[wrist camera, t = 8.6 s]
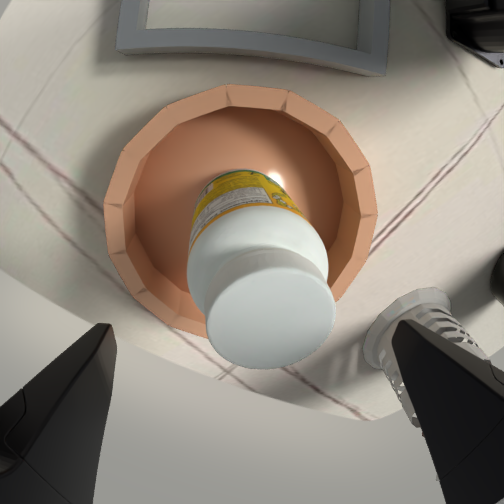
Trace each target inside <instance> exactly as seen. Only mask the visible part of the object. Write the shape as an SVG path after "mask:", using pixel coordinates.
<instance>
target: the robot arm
mask: <svg viewBox="0 0 504 504" xmlns="http://www.w3.org/2000/svg"><path fill="white" fill-rule="evenodd" d="M446 33H447V37H448V38H449V39H450V40H451V41H453V42H455V43H457V44H459V45H460V46H462V47H464V48H466V49H468V50H470V51H471V52H473V53H475V54H477V55H478V56H480V57H482V58H483V59H485V60H487V61H488V62H490V63H491V64H493V65H495V66H496V67H498V68H504V0H446ZM452 33H453V34H454V36H453V34H452ZM391 344H392V348H393V351H394V354H395V357H396V361H397V364H398V367H399V370H400V374H401V377H402V380H403V383H404V385H405V388H406V390H407V393H408V395H409V398H410V400H411V403H412V405H413V408H414V411H415V413H416V415H417V418H418V421H419V424H420V426H421V429H422V432H423V434H424V437H425V440H426V443H427V446H428V448H429V451H430V454H431V457H432V460H433V463H434V466H435V469H436V472H437V475H438V478H439V480H440V481H439V482H440V485H441V488H442V491H443V495H444V498H445V502H446V504H504V372H503V371H502V370H500V369H498V368H496V367H495V366H493V365H491V364H489V363H488V362H486V361H484V360H483V359H481V358H479V357H477V356H476V355H474V354H472V353H470V352H469V351H467V350H465V349H463V348H462V347H460V346H458V345H456V344H455V343H453V342H451V341H449V340H448V339H446V338H444V337H442V336H441V335H439V334H437V333H435V332H434V331H432V330H430V329H428V328H427V327H425V326H423V325H421V324H419V323H418V322H416V321H414V320H412V319H402V320H400V321H399V322H398V325H397V327H396V329H395V332H394V334H393V336H392V340H391ZM116 354H117V345H116V340H115V336H114V332H113V327H112V325H111V324H107V323H98V324H96V325H95V326H94V327H92V328H91V329H90V330H89V331H88V332H86V333H85V334H84V335H83V336H82V337H80V338H79V339H78V340H77V341H76V342H75V343H73V344H72V345H71V346H70V347H69V348H67V349H66V350H65V351H64V352H63V353H61V354H60V355H59V356H58V357H57V358H56V359H55V360H54V361H52V362H51V363H50V364H49V365H47V366H46V367H45V368H44V369H43V370H42V371H41V372H39V373H38V374H37V375H36V376H35V377H34V378H33V379H32V380H31V381H29V382H28V383H27V384H26V385H25V386H24V387H23V389H20V390H19V391H18V392H17V393H16V394H15V395H13V396H12V397H11V398H10V399H9V400H8V401H6V402H5V403H4V404H3V405H2V406H0V504H93V497H94V489H95V482H96V475H97V469H98V463H99V457H100V451H101V446H102V440H103V435H104V430H105V424H106V420H107V415H108V410H109V406H110V401H111V396H112V388H113V379H114V370H115V362H116Z"/></svg>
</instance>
